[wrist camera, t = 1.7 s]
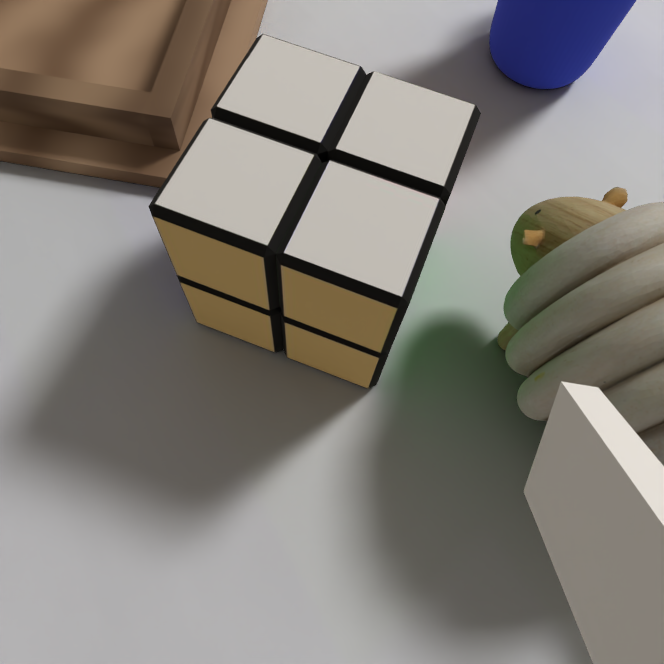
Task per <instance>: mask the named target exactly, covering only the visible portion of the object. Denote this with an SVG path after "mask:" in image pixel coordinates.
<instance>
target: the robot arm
mask: <svg viewBox="0 0 664 664" xmlns="http://www.w3.org/2000/svg"><path fill="white" fill-rule="evenodd" d="M523 492H524V494H525V497H526V499H527V501H528V504H529V506H530V509H531V511H532V514H533V516H534V519H535V521H536V524H537V526H538V529H539V531H540V534H541V536H542V539H543V541H544V544H545V546H546V549H547V551H548V553H549V556H550V558H551V561H552V563H553V566H554V568H555V571H556V573H557V576H558V578H559V581H560V583H561V586H562V588H563V591H564V593H565V596H566V598H567V601H568V603H569V605H570V608H571V610H572V613H573V615H574V618H575V620H576V623H577V625H578V628H579V630H580V633H581V635H582V638H583V640H584V643H585V645H586V648H587V650H588V653H589V655H590V657H591V660H592V662H593V664H664V466H663V465H662V464H661V462H660V461H659V460H658V459H657V458H656V456H655V455H654V454H653V453H652V452H651V450H650V449H649V448H648V447H647V446H646V444H645V443H644V442H643V441H642V440H641V438H640V437H639V436H638V435H637V433H636V432H635V431H634V430H633V429H632V427H631V426H630V425H629V424H628V423H627V421H626V420H625V419H624V418H623V417H622V415H621V414H620V413H619V412H618V411H617V409H616V408H615V407H614V406H613V405H612V403H611V402H610V401H609V400H608V399H607V397H606V396H605V395H604V394H603V393H602V391H601V390H600V389H599V388H598V387H592V386H586V385H580V384H574V383H568V382H562V381H561V383H560V386H559V389H558V392H557V395H556V398H555V400H554V403H553V406H552V409H551V412H550V415H549V418H548V421H547V424H546V427H545V430H544V433H543V435H542V438H541V441H540V444H539V447H538V450H537V453H536V456H535V459H534V462H533V465H532V468H531V470H530V473H529V476H528V479H527V482H526V485H525V488H524V491H523Z"/></svg>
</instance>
